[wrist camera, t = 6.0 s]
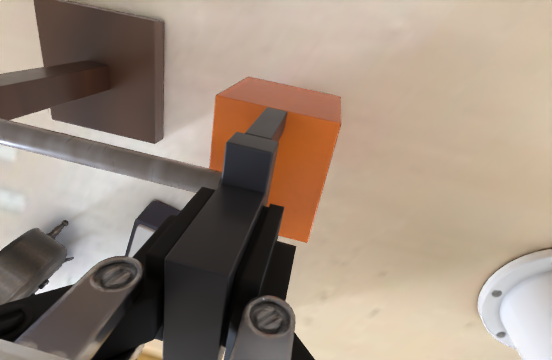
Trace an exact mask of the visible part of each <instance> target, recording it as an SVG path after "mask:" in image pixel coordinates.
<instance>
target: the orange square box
mask: <svg viewBox="0 0 552 360" xmlns="http://www.w3.org/2000/svg"><path fill="white" fill-rule="evenodd" d="M340 126H341V97H340V96H335V95H330V94H326V93H321V92H317V91H312V90H308V89H303V88H298V87H294V86H289V85H285V84H280V83H276V82H271V81H266V80H262V79H257V78H253V77H247V78H245V79H243V80H241V81H240V82H238V83H236V84H235V85H233V86H231V87H229V88H228V89H226V90H224V91H223V92H221V93H219V94H217V95H216V99H215V110H214V121H213V133H212V144H211V155H210V167H209V169H212V170H217V171H221V172H222V181H221V184H220V185H219V186H218V188H217V189H216V190H215V192H214V193H213V194H212V196H211V197H210V199H209V200H208V201H207V203H206V204H205V205H204V207H203V208H202V209H201V211H200V212H199V213H198V215H197V216H196V217H195V219H194V220H193V221H192V223H191V224H190V225H189V227H188V228H187V229H186V231H185V232H184V233H183V235H182V236H181V237H180V239H179V240H178V241H177V243H176V244H175V246H174V247H173V248H172V250H171V251H170V252H169V254H168V255H167V256H166V258H165V263H164V316H163V360H221V359H222V357H223V354H224V351H225V348H226V347H223V345H224V338H225V332H226V325H227V319H228V313H229V306H230V300H231V293H232V287H233V282H234V278H235V275H236V272H237V269H238V267H239V264H240V262H241V259H242V257H243V255H244V252H245V250H246V247H247V245H248V243H249V240H250V238H251V235H252V233H253V231H254V228H255V226H256V223H257V221H258V219H259V216H260V214H261V211H262V209H263V206H267V207H269V205H270V203H271V204H275V205H279V206H283V207H284V212H283V216H282V221H281V225H280V230H279V234H278V235H279V236H283V237H286V238H290V239H294V240H298V241H302V242H306V243H307V242H308V240H309V236H310V233H311V229H312V226H313V222H314V218H315V215H316V211H317V208H318V204H319V201H320V197H321V194H322V190H323V187H324V183H325V179H326V176H327V172H328V169H329V165H330V162H331V158H332V155H333V151H334V148H335V144H336V140H337V137H338V133H339V130H340Z"/></svg>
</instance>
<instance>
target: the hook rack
mask: <svg viewBox="0 0 552 360" xmlns="http://www.w3.org/2000/svg"><path fill="white" fill-rule="evenodd" d="M34 6H35V12H36V19H37V25H38V32H39V38H40V44H41V51H42V57H43V64H44V67H41V68H35V69H29V70H22V71H16V72H10V73H3V74H0V144H1V145H5V146H9V147H13V148H17V149H22V150H26V151H30V152H34V153H38V154H42V155H46V156H50V157H54V158H58V159H62V160H66V161H70V162H74V163H78V164H82V165H86V166H90V167H94V168H98V169H102V170H106V171H110V172H115V173H119V174H123V175H127V176H131V177H135V178H139V179H143V180H147V181H151V182H155V183H159V184H163V185H167V186H171V187H175V188H179V189H183V190H187V191H191V192H195V193H197V192H198V191H199V189H200V188H201V187H206V188H210V189H214V190H216V189H217V188H218V186H219V185H220V184H221V181H222V172H221V171H217V170H212V169H208V168H204V167H200V166H196V165H192V164H188V163H183V162H179V161H175V160H171V159H167V158H163V157H159V156H154V155H150V154H146V153H142V152H138V151H134V150H130V149H125V148H121V147H117V146H113V145H109V144H105V143H101V142H96V141H92V140H88V139H84V138H80V137H76V136H71V135H67V134H63V133H59V132H55V131H51V130H47V129H42V128H38V127H34V126H30V125H26V124H22V123H18V122H13V121H9V120H11V119H14V118H18V117H21V116H24V115H28V114H31V113H34V112H38V111H41V110H44V109H48V108H50V109H51V115H52V119H53V120H57V121H61V122H65V123H70V124H74V125H78V126H82V127H86V128H91V129H95V130H99V131H103V132H107V133H112V134H116V135H120V136H124V137H128V138H133V139H137V140H141V141H145V142H149V143H154V144H155V143H157V142H158V141H160V140H161V139H163V74H164V21H161V20H157V19H152V18H147V17H142V16H137V15H133V14H128V13H123V12H118V11H114V10H109V9H104V8H99V7H95V6H90V5H85V4H80V3H76V2H71V1H66V0H34Z"/></svg>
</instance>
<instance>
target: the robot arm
mask: <svg viewBox="0 0 552 360" xmlns="http://www.w3.org/2000/svg"><path fill="white" fill-rule="evenodd" d="M214 192H215V190H214V189H210V188H206V187H201V188H200V189H199V191H198V192H197V193H196V194H195V195H194V197H193V198H192V199H191V200H190V201H189V202H188V204H187V205H186V206H185V207H184V208H183V210H182V211H181V212H180V213H179V214H178V215H173V214H172V215H170V216H169V217H168V218H167V219H166V220H165V221H164V222H163V223H162V224H161V225H160V227H159V228H158V229H157V230H156V231H155V232H154V233H153V234H152V236H151V237H150V238H149V239H148V240H147V241H146V242H145V243H144V245H143V246H142V247H141V248H140V249H139V250H138V251H137V252H136V254H135V255H134V256H133V257H127V256H115V257H111V258H107V259H105V260H103V261H100V262H99V263H97V264H96V265H95V266H93V267H92V268H91V269H90V270H89V271H88V272H87V273H86V274H85V275H84V276H83V277H82V278H81V279H80V280H79V281H78V282H77V283H75V284H73V285H69V286H66V287H62V288H58V289H55V290H51V291H48V292H44V293H40V294H37V295H33V296H30V297H26V298H23V299H19V300H15V301H12V302H8V303H5V304H2V305H0V360H137V359H138V357H139V355H140V354H141V352H142V350H143V348H144V346H145V343H147V342H149V341H152V340H153V339H158V340H161V341H163V316H164V263H165V258H166V256H167V255H168V254H169V252H170V251H171V250H172V248H173V247H174V246H175V244H176V243H177V241H178V240H179V239H180V237H181V236H182V235H183V233H184V232H185V231H186V229H187V228H188V227H189V225H190V224H191V223H192V221H193V220H194V219H195V217H196V216H197V215H198V213H199V212H200V211H201V209H202V208H203V207H204V205H205V204H206V203H207V201H208V200H209V199H210V197H211V196H212V194H213V193H214ZM283 212H284V207H283V206H279V205H275V204H271V203H270V205H269V207H267V206H263V209H262V211H261V214H260V216H259V219H258V221H257V223H256V226H255V228H254V231H253V233H252V235H251V238H250V240H249V243H248V245H247V247H246V250H245V252H244V255H243V257H242V259H241V262H240V264H239V267H238V269H237V272H236V275H235V278H234V282H233V287H232V293H231V300H230V306H229V313H228V319H227V325H226V332H225V338H224V345H223V347H226V350H225V356H224V360H315V359H314V358H313V356H312V355H311V354H310V352H309V351H308V350H307V348H306V347H305V346H304V345H303V343H302V342H301V341H300V339H299V338H298V337H297V335H296V334H295V333H294V330H295V314H294V312H293V310H292V308H291V307H290V306H289V304H288V303H287V302H285V300H286V295H287V290H288V285H289V280H290V274H291V269H292V264H293V259H294V254H295V249H296V246H294V245H290V244H286V243H282V242H278V241H277V239H278V234H279V230H280V225H281V221H282V216H283ZM478 311H479V315H480V317H481V320H482V322H483V324H484V326H485V327H486V329H487V331H488V332H489V333H490V334H491V335H492V336H493V337H494V338H495V339H497V340H498V341H500V342H501V343H503V344H505V345H507V346H509V347H512V348H514V349H517V351H518V353H519V354H520V356H521V358H522V360H552V249H548V250H542V251H538V252H534V253H531V254H528V255H525V256H522V257H520V258H518V259H516V260H514V261H511V262H510V263H508V264H506V265H505V266H503V267H502V268H500V269H499V270H498V271H497V272H495V273H494V274H493V275H492V276H491V277H490V278H489V279H488V281H487V282H486V283H485V285H484V286H483V288H482V290H481V292H480V295H479V299H478Z"/></svg>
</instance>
